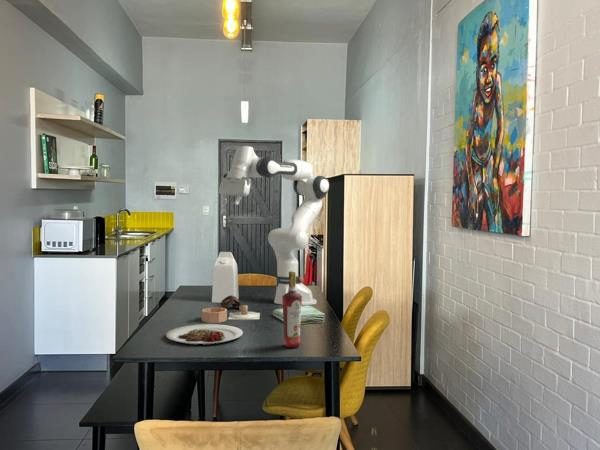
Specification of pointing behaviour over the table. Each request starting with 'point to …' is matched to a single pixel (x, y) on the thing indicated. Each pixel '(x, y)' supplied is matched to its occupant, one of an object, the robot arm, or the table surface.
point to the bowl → (214, 315)
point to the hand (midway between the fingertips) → (230, 204)
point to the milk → (225, 277)
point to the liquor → (292, 314)
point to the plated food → (204, 334)
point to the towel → (304, 315)
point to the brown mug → (232, 300)
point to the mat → (251, 318)
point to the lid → (244, 313)
